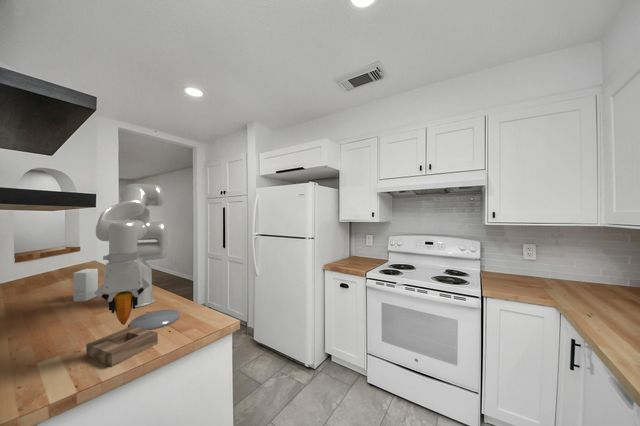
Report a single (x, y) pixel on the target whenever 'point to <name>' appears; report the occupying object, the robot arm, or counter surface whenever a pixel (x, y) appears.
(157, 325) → the plate
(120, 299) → the carrot
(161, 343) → the counter surface
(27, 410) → the counter surface
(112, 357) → the pocket block
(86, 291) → the skincare box
